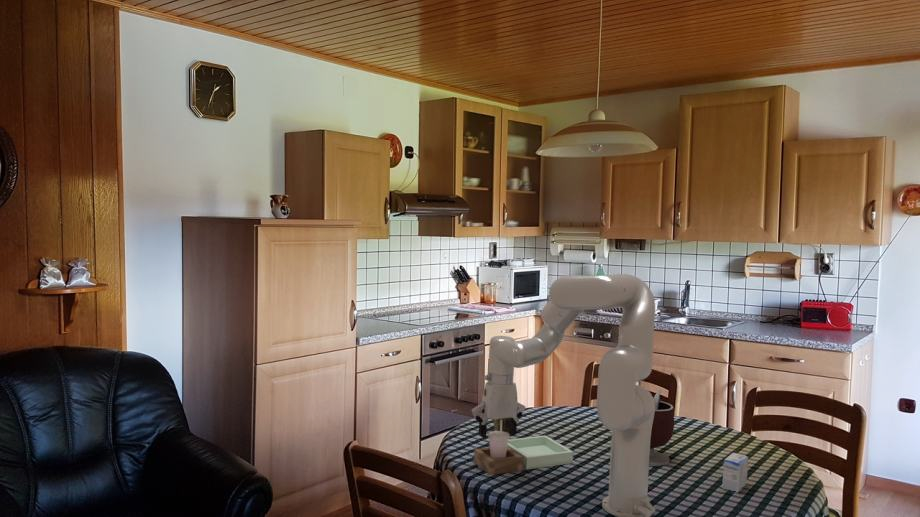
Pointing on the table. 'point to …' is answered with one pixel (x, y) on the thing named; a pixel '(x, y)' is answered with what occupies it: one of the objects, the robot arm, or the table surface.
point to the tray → (540, 452)
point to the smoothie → (498, 443)
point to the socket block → (498, 461)
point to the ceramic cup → (504, 424)
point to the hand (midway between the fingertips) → (497, 435)
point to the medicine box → (735, 472)
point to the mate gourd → (661, 430)
